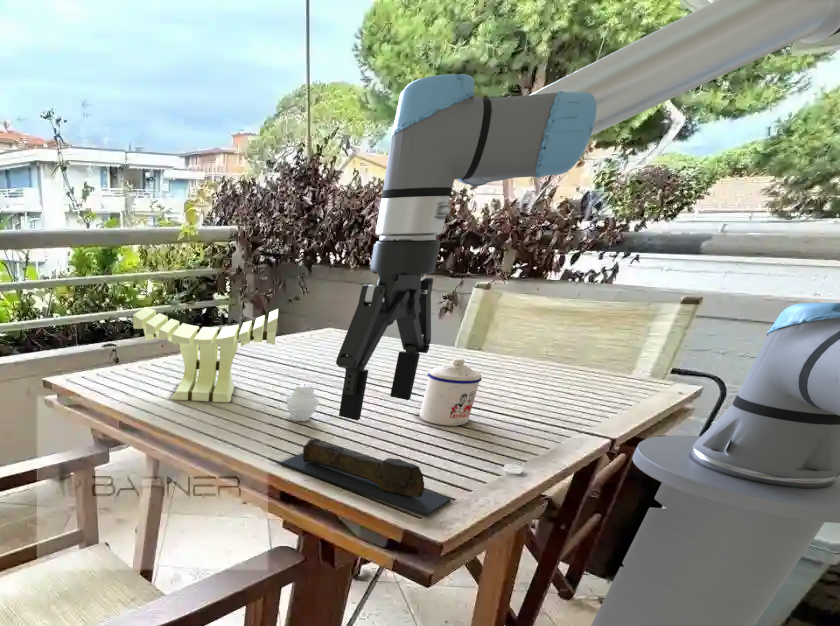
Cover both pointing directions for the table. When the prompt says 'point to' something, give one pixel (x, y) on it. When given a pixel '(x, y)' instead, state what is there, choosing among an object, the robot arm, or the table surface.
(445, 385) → the teacup with lid
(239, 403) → the table surface
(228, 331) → the slatted curved stool
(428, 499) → the edge strip
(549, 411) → the table surface
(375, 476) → the hand tool
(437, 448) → the table surface
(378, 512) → the table surface
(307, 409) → the white ribbed jar
